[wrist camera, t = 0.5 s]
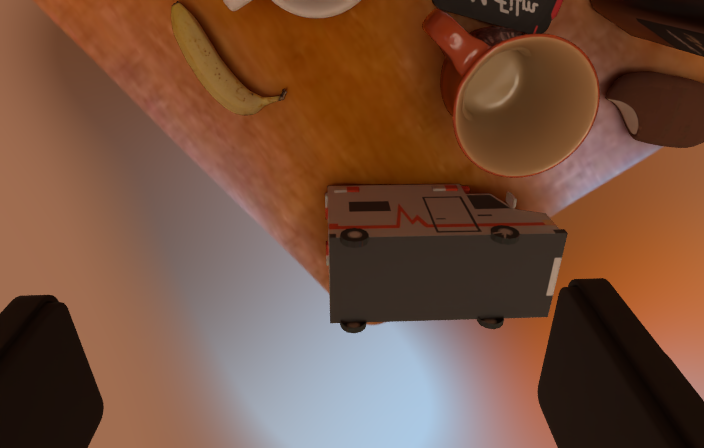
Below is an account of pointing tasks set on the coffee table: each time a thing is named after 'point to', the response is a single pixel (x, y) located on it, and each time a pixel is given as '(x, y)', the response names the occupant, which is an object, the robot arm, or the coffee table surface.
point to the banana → (213, 66)
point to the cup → (304, 6)
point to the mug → (514, 95)
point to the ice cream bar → (660, 108)
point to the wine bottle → (659, 21)
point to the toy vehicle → (436, 256)
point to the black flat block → (506, 12)
